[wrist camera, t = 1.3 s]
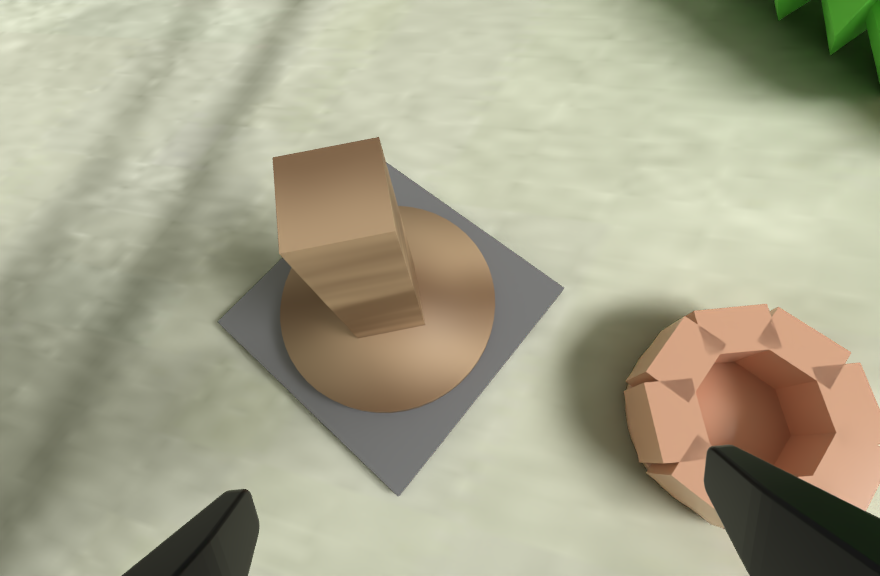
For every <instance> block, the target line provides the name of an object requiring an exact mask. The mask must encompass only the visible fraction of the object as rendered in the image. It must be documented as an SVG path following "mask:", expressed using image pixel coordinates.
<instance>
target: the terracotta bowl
mask: <svg viewBox="0 0 880 576" xmlns="http://www.w3.org/2000/svg"><path fill="white" fill-rule="evenodd" d="M850 354H851V352H850V351H848V350H847V349H845V348H843V347H842V346H840V345H839V344H837V343H835V342H834V341H832V340H831V339H829V338H827V337H826V336H824V335H823V334H821V333H819V332H818V331H816V330H815V329H813V328H811V327H810V326H808V325H807V324H805V323H803V322H802V321H800V320H799V319H797V318H795V317H794V316H792V315H791V314H789V313H787V312H786V311H784V310H783V309H781V308H779V307H777V308H775V309H773V310H771V311H769V309H768V306H767V304H760V305H750V306H740V307H729V308H719V309H708V310H698V311H693V312H691V313H690V314H688V315H687V316H684V317H682V318H681V319H679V320H678V321H676V322H674V323H673V324H671V325H670V326H668V327H667V328H665V329H664V330H662V331H660V333H659V334H658V336H657V337H656V338H655V340H654V341H653V343H652V344H651V345H650V347H649V348H648V349H647V350H646V351H645V352H644V353H643V354H642V356H641V357H640V358H639V360H638V361H637V363H636V365H635V366H634V368H633V370H632V372H631V374H630V375H629V377H628V378H627V379H626V381H625V382H627V383H628V385H627V389H626V390H625V391H623V392H624V396H625V412H626V420H627V426H628V430H629V433H630V437H631V440H632V442H633V445H634V447H635V450H636V452H637V454H638V459H639V462H640V463H643V464H644V466H645V467H646V469H647V472H646V473H647V474H648V475H649V476H651V477H652V478H653V479H654V480H656V481H657V482H658V483H659V485H660V486H661V487H662V488H663V489H664V490H666V491H667V492H668V493H669V494H670V495H671V496H672V497H674V498H675V499H676V500H678V501H679V502H681V503H682V504H684V505H685V506H687V507H688V508H690V509H692V510H694V511H695V512H696V513H697V514H699V515H700V516H701V517H702V518H704V519H705V520H706V521H707V522H709V523H710V524H711V525H715V526H718V527H722V528H723V529H725V528H724V526H723V524H722V522H721V520H720V518H719V516H718V514H717V512H716V510H715V508H714V506H713V505H712V503H711V501H710V499H709V497H708V495H707V493H706V490H705V487H704V471H705V462H706V453H707V450H708V448H709V447H711V446H716V445H727V444H729V445H734V446H736V447H738V448H740V449H742V450H744V451H746V452H748V453H750V454H752V455H754V456H756V457H758V458H760V459H762V460H764V461H766V462H768V463H770V464H772V465H774V466H776V467H778V468H780V469H782V470H784V471H786V472H788V473H790V474H792V475H794V476H796V477H798V478H800V479H802V480H804V481H806V482H808V483H810V484H812V485H814V486H816V487H818V488H820V489H822V490H824V491H826V492H828V493H830V494H832V495H834V496H836V497H838V498H840V499H842V500H844V501H846V502H848V503H850V504H852V505H854V506H856V507H858V508H860V509H862V510H864V511H866V510H867V508H868V506H869V504H870V502H871V500H872V498H873V496H874V494H875V492H876V490H877V488H878V486H879V484H880V446H878V445H879V444H880V409H879V407H878V404H877V402H876V399H875V397H874V395H873V392H872V390H871V387H870V385H869V383H868V380H867V378H866V375H865V373H864V370H863V368H862V366H861V363H851V364H845V363H846V361H847V359H848V358H849V356H850Z"/></svg>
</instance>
